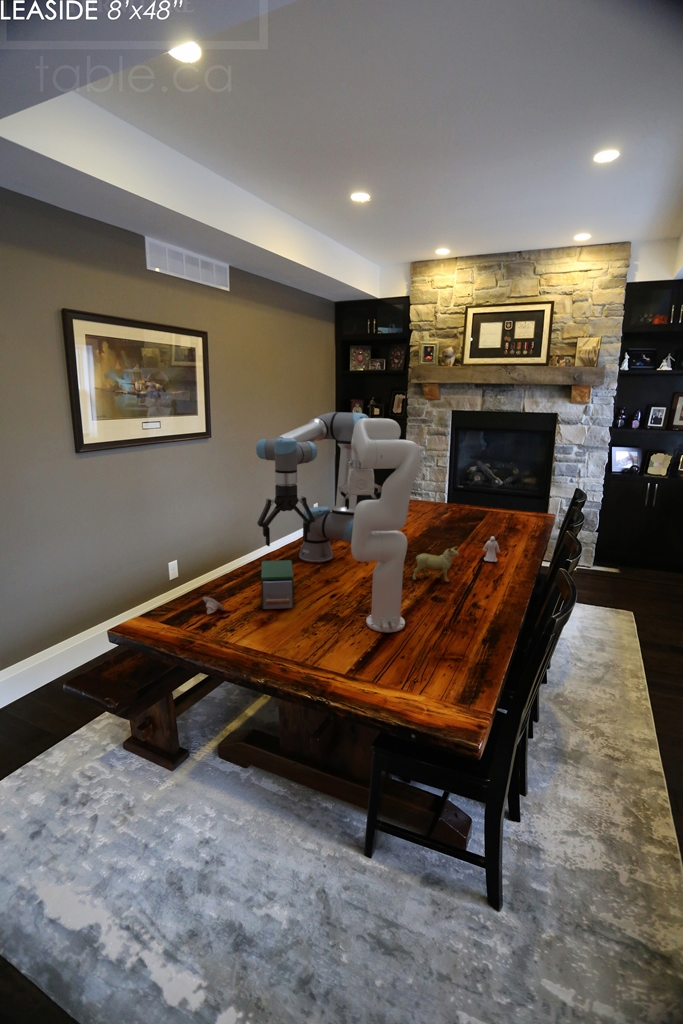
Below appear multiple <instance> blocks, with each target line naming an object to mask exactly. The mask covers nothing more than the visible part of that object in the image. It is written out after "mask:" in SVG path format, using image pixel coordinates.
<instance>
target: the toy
mask: <svg viewBox="0 0 683 1024" xmlns="http://www.w3.org/2000/svg"><path fill="white" fill-rule="evenodd" d="M458 547H459V546H458V545H456V546H454V547H450V548H447V549H446V550H444V552H443V553H442V554H441V555H435V554H431V553H430V554H429V553H420V554H418V555H416V556H415V563H416V564H417V567H415V568H414V570H413V574H412V580H413V581H417V575H418V573H419V572H421V573H422V574H423V576H424V577H425V578H427V577H428V573H427V571H425V569H427V570H430V571H437V573H436V579H441V576H440V574H441V573H442V574H443V578H444V581H445V583H447V584H448V583H450V580H449V579H448V570H449V569H450V568H451V567H452V564H453V561H454V557H456V558H459V557H460V553H459V552H458V551H457V549H458Z"/></svg>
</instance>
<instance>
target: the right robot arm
mask: <svg viewBox="0 0 683 1024" xmlns="http://www.w3.org/2000/svg"><path fill="white" fill-rule="evenodd" d="M401 433H402V430H401V426H400V425H399V423H398V422H397V421H396V420H394V419H391V418H383V417H382V418H381V417H379V418H378V417H377V418H376V417H373V418H371V417H368V418H363V419H360V420H358V421H357V422H356V424H355V426H354V430H353V435H352V441H351V448H352V460H351V461H350V462H348V465H350V466H351V468H350V469H349V475H348V483H346V484H344V485H342V486H340V487H338V486H337V488H338V489H339V491H340V493H341V495H342V496H343V497H344V498H345V507H347V509H349V496H350V495H357V496H371V499H364V500H361V501H359V502H358V503H356V508H355V512H354V520H353V531H352V541H351V542H350V552H351V556H352V558H353V559H354V560H355V561H356V562H360V563H361V562H362V563H364V562H365V563H367V562H368V563H369V562H377V563H376V564H375V566H374V569H373V571H372V585H371V586H372V587H371V607H370V609H371V613H370V615H368V616H367V617H366V621H365V622H366V623H365V624H366V625H367V627H368V628H369V629H372V630H373V631H376V632H379V633H396V632H398V631H402V630H403V629H404V628H405V626H406V620H405V618H403V617H402V615H401V614H402V599H403V598H402V597H403V580H404V578H403V577H404V567H405V559H406V555H407V551H408V538H407V536H406V534H405V533H404V532H402V531H401V530H402V529H403V528H404V527H405V525H406V523H407V520H408V513H409V507H410V501H411V500H410V499H411V492H412V489H413V486H414V484H415V482H416V479H417V477H418V474H419V471H420V467H421V461H422V460H421V459H422V454H421V449H420V447H419V445H418V443H416V442H415V441H412V440H408V439H400V437H401ZM379 469H384V470H385V469H387V470H388V469H389V470H390V469H395V470H394V471H393V472H392V473H391V474H390V475H389V476H388V477H387V478H386V479H385V481H383V484H382V486H381V485H378V484H377V483H375V473H374V470H379ZM346 487H347V490H348V492H347V493H346V494H345V493H344V492H343V489H344V488H346ZM375 489H377V492H375Z"/></svg>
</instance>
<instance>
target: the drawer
mask: <svg viewBox="0 0 683 1024" xmlns="http://www.w3.org/2000/svg"><path fill="white" fill-rule="evenodd" d="M277 609H293V608H292V581H289V579H282V580H266V581H264V582H263V609H262V610H277Z"/></svg>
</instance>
